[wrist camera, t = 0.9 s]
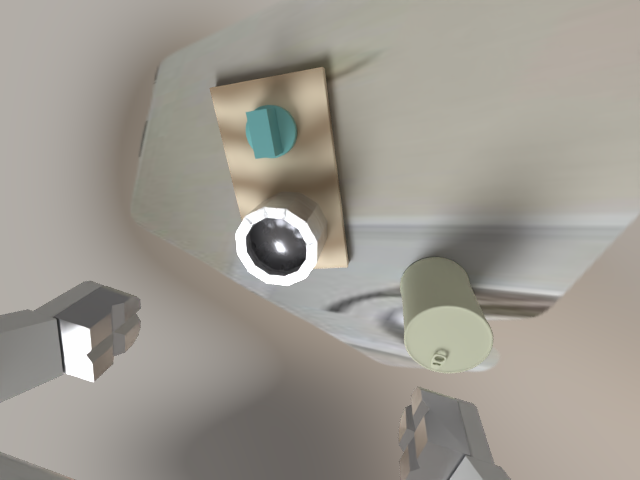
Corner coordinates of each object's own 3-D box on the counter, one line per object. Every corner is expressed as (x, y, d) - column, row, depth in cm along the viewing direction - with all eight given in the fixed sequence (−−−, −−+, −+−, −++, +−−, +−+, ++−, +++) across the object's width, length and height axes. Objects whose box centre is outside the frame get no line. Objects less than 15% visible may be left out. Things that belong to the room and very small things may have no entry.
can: (392, 304, 48) (393, 363, 37) (411, 249, 44) (419, 297, 33) (455, 321, 47) (475, 387, 36) (480, 266, 43) (511, 322, 32)
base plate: (215, 88, 41) (209, 88, 39) (324, 68, 38) (322, 66, 36) (257, 266, 50) (254, 271, 49) (348, 262, 47) (347, 267, 45)
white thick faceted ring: (277, 177, 42) (258, 190, 36) (341, 219, 43) (333, 239, 36) (245, 234, 46) (223, 255, 40) (304, 272, 47) (291, 298, 41)
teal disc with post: (245, 109, 40) (229, 109, 36) (292, 101, 38) (281, 101, 34) (255, 159, 42) (241, 165, 38) (300, 153, 40) (291, 159, 36)
